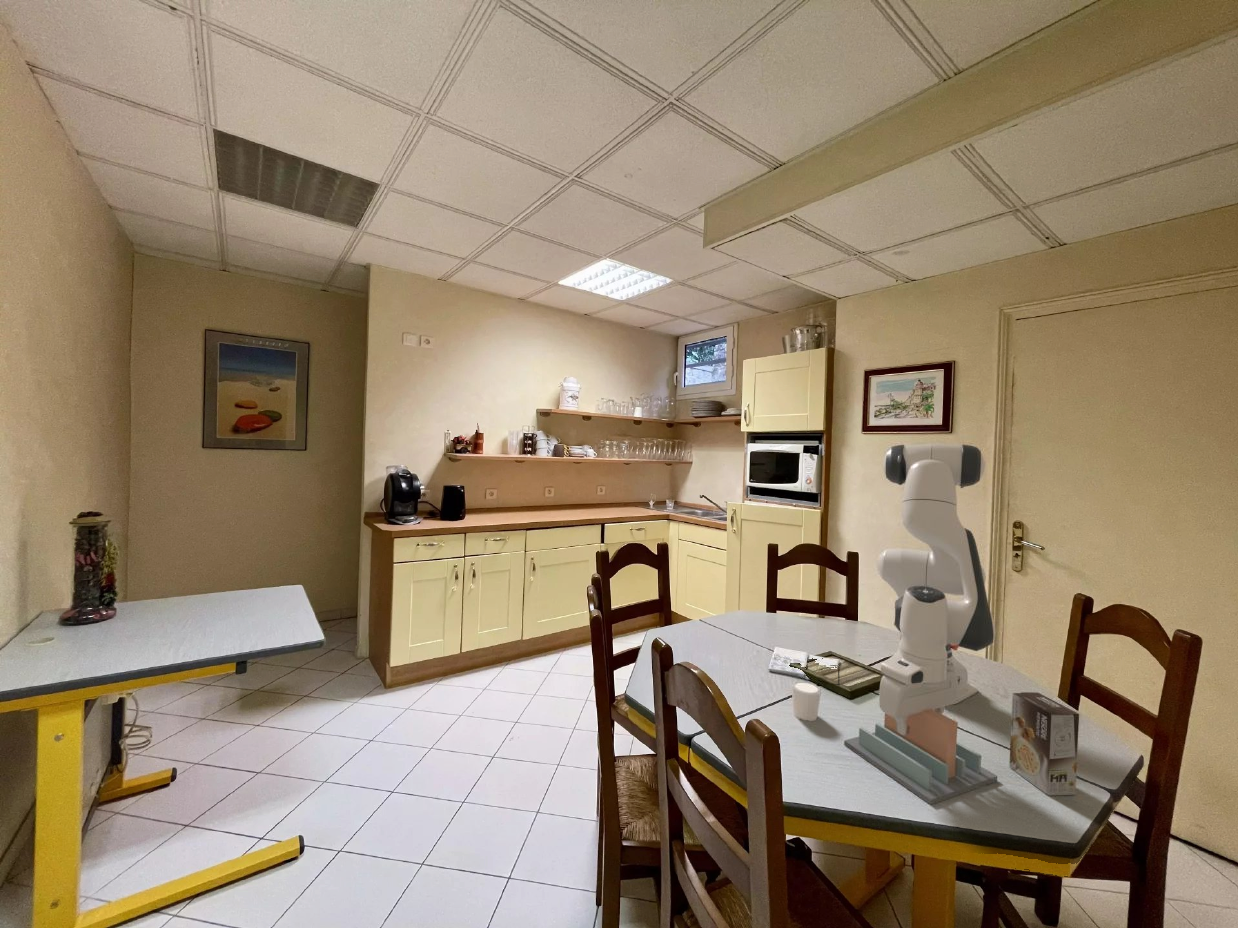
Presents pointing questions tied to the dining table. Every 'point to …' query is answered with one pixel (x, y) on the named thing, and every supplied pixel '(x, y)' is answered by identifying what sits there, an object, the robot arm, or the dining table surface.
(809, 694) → the white cylinder
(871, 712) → the dining table surface
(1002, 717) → the dining table surface
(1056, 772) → the coffee box
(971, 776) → the dish rack
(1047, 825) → the dining table surface
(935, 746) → the salmon pink panel
